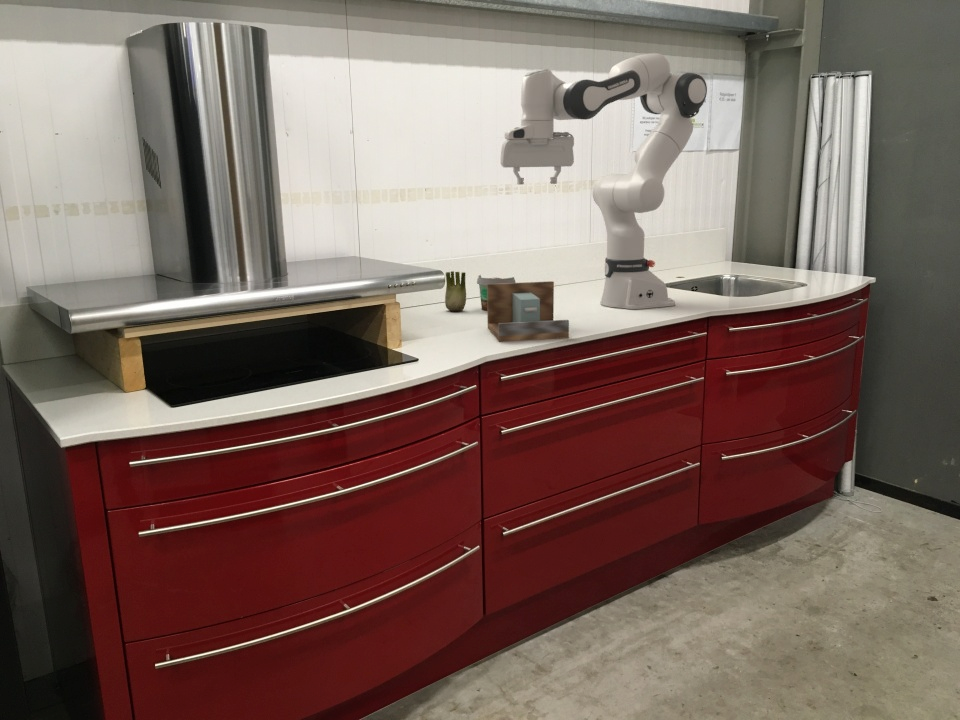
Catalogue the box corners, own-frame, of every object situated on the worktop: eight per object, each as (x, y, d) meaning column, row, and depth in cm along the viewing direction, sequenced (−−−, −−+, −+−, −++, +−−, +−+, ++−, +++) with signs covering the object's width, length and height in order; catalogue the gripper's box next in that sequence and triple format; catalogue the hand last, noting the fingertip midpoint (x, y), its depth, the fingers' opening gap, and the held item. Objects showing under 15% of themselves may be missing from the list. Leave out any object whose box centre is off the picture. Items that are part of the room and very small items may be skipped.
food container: (469, 310, 237) (469, 277, 235) (479, 307, 243) (479, 274, 240) (506, 314, 232) (506, 280, 229) (515, 310, 237) (515, 277, 235)
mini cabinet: (530, 321, 213) (530, 292, 211) (540, 330, 203) (540, 299, 201) (512, 322, 213) (512, 293, 211) (521, 331, 202) (521, 300, 200)
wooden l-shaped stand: (552, 324, 216) (552, 281, 213) (568, 337, 201) (569, 291, 198) (487, 328, 213) (487, 284, 210) (499, 341, 198) (498, 294, 195)
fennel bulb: (468, 310, 238) (467, 270, 235) (459, 313, 234) (458, 272, 231) (451, 308, 241) (450, 269, 238) (442, 311, 237) (441, 271, 234)
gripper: (570, 132, 221) (570, 182, 225) (499, 133, 218) (499, 184, 221) (577, 131, 215) (576, 183, 219) (503, 132, 212) (503, 185, 215)
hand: (537, 184), depth 220 cm, fingers open, 8 cm apart
